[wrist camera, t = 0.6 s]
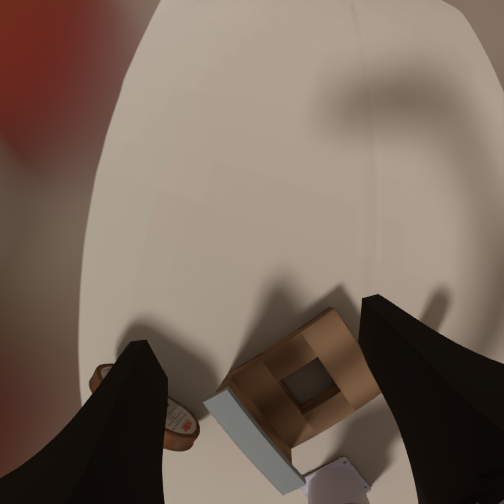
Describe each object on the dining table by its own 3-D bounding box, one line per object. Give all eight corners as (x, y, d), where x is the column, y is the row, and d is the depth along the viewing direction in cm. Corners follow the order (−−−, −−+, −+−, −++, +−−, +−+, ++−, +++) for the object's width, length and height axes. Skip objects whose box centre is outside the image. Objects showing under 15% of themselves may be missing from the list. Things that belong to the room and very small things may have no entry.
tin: (110, 370, 35) (74, 385, 26) (117, 354, 35) (81, 366, 27) (199, 433, 33) (180, 465, 24) (210, 417, 33) (192, 448, 24)
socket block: (380, 384, 31) (414, 417, 20) (283, 444, 31) (282, 495, 20) (327, 303, 33) (348, 310, 22) (225, 369, 33) (202, 402, 22)
